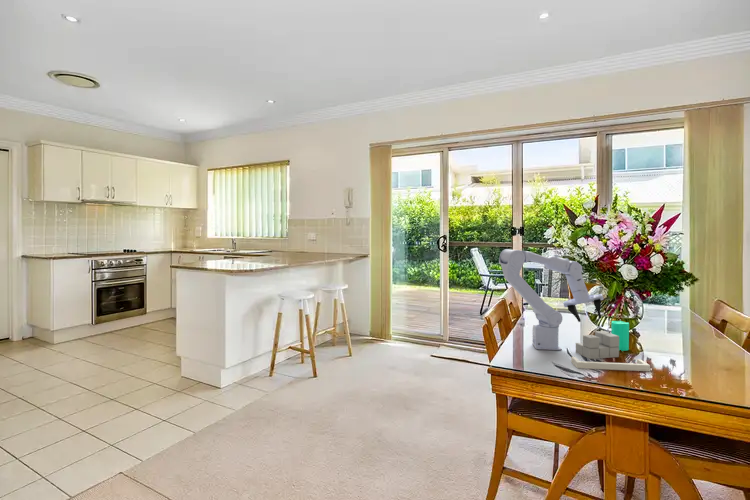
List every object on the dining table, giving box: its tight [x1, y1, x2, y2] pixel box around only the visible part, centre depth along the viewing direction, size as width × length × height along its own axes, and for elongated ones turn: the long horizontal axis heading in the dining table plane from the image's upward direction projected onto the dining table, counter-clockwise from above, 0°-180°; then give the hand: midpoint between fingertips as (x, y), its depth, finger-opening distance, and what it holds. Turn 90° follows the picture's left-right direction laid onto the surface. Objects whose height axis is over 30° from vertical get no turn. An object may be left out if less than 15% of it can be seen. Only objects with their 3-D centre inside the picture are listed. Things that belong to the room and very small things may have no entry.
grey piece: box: [570, 356, 651, 372], centre depth 136 cm, size 22×6×2 cm, turn 80°
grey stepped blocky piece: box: [575, 330, 620, 360], centre depth 151 cm, size 12×12×8 cm
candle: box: [610, 320, 630, 352], centre depth 156 cm, size 6×6×12 cm
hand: (589, 319), depth 161 cm, fingers open, 7 cm apart
